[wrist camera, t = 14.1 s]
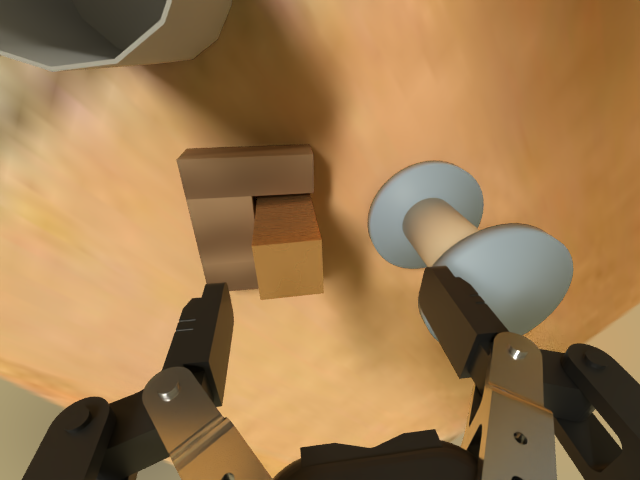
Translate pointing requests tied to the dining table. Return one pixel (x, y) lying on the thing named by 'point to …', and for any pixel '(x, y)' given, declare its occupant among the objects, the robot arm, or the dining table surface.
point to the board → (237, 201)
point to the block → (287, 246)
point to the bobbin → (469, 243)
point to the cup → (108, 31)
